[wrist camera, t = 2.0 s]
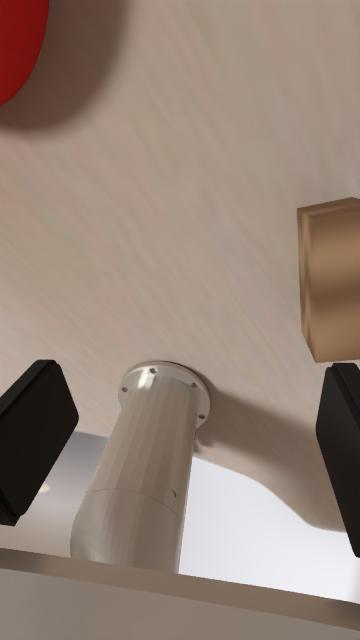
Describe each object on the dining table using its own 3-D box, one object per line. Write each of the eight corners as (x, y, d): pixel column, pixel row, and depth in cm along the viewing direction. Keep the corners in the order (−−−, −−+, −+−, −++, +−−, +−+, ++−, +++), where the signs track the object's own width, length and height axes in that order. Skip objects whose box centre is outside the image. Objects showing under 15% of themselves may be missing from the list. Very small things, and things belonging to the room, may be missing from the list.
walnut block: (345, 325, 30) (369, 358, 25) (301, 330, 31) (315, 362, 26) (351, 197, 25) (383, 205, 20) (296, 208, 26) (313, 219, 21)
